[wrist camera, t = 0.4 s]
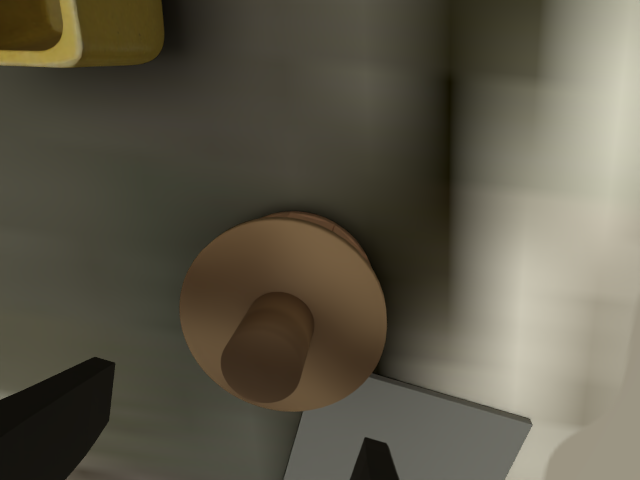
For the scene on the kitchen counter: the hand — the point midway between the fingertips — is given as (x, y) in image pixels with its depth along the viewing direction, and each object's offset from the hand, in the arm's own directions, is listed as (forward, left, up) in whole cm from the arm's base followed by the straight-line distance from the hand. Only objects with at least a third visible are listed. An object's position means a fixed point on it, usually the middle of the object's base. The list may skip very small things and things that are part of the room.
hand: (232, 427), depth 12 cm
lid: (0, 0, -7) cm, 7 cm away
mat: (-9, -8, -10) cm, 15 cm away
